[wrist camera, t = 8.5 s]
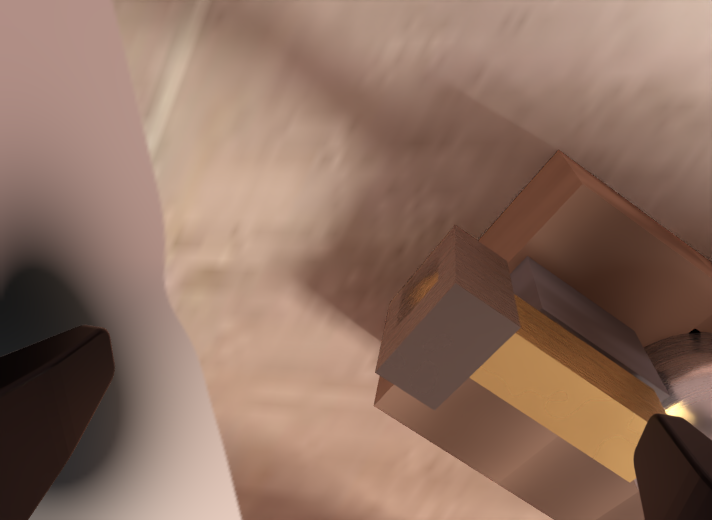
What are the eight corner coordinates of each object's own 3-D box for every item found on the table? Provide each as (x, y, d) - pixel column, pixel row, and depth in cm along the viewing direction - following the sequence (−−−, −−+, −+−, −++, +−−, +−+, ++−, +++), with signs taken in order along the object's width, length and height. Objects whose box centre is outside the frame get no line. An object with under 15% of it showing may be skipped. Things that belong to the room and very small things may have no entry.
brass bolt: (672, 375, 14) (725, 466, 11) (592, 436, 15) (622, 531, 12) (454, 224, 13) (455, 283, 10) (389, 302, 14) (374, 372, 11)
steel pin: (757, 326, 20) (884, 463, 14) (650, 405, 23) (721, 552, 17) (654, 252, 20) (742, 362, 14) (556, 341, 22) (594, 468, 16)
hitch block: (802, 329, 20) (962, 479, 14) (591, 478, 25) (637, 640, 19) (558, 149, 19) (611, 225, 12) (385, 345, 24) (360, 471, 17)
